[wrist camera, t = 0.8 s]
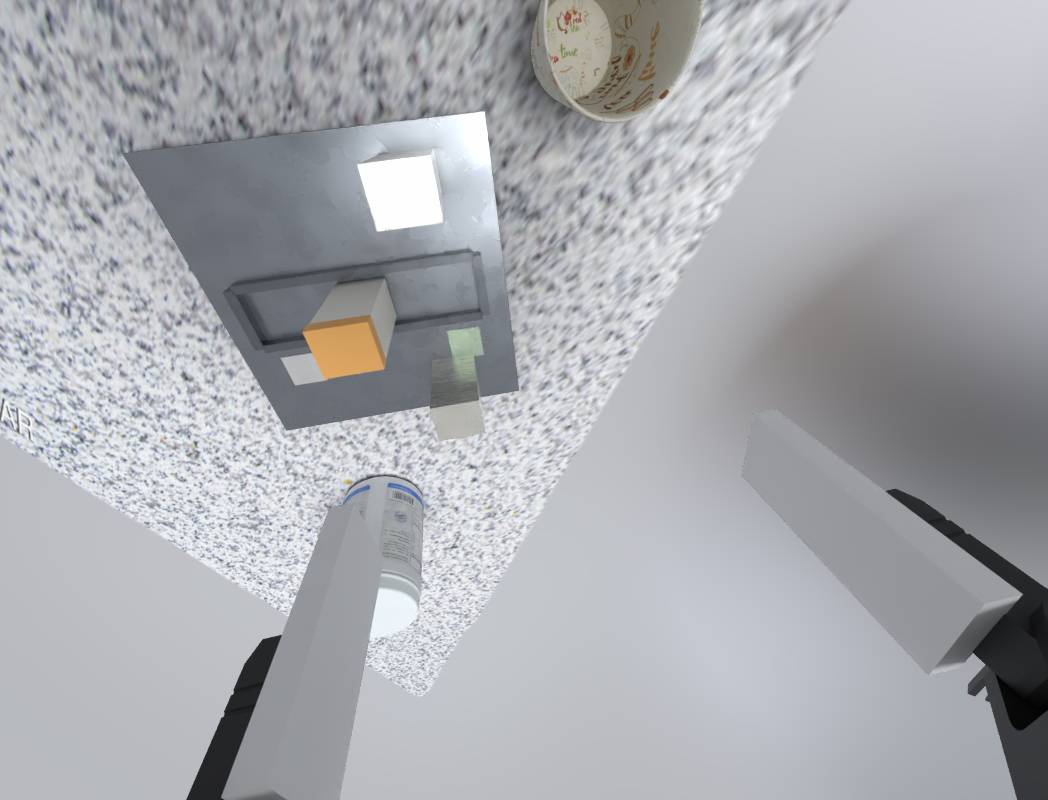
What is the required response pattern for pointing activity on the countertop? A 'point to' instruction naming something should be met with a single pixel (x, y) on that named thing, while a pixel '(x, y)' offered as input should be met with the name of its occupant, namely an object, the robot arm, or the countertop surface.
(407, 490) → the supplement tub
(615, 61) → the mug
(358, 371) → the handle
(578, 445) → the countertop surface
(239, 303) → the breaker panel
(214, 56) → the countertop surface
